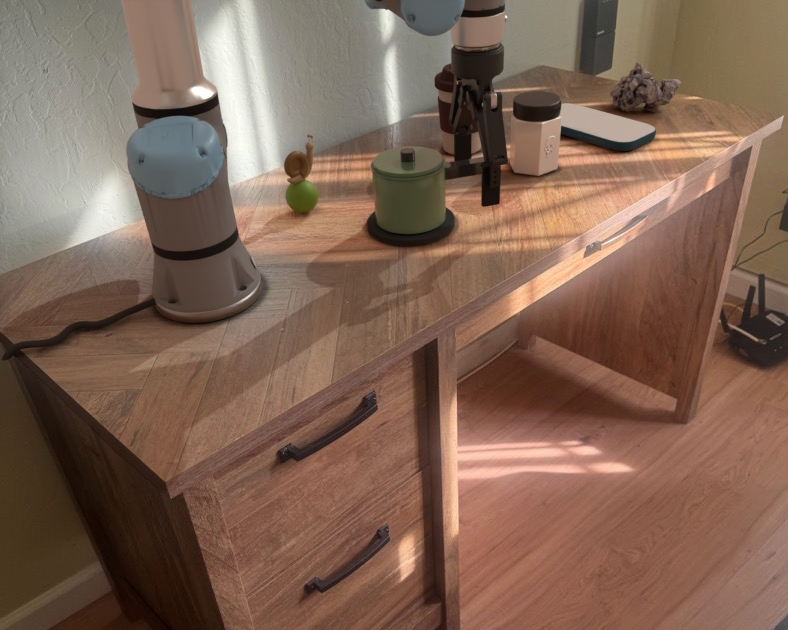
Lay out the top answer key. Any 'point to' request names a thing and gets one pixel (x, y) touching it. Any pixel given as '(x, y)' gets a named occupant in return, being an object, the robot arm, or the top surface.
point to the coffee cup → (445, 90)
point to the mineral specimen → (643, 90)
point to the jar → (535, 132)
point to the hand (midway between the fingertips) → (476, 188)
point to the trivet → (411, 238)
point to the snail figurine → (300, 180)
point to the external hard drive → (604, 128)
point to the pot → (414, 187)
